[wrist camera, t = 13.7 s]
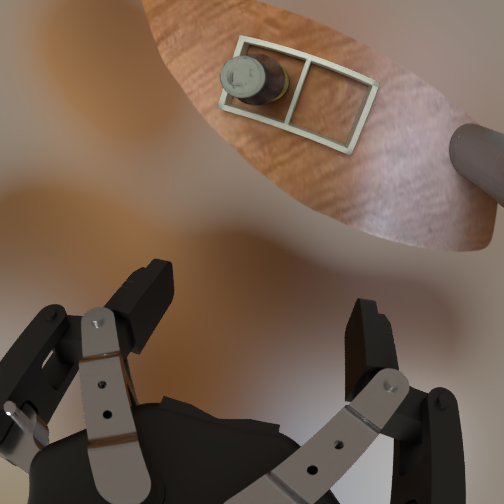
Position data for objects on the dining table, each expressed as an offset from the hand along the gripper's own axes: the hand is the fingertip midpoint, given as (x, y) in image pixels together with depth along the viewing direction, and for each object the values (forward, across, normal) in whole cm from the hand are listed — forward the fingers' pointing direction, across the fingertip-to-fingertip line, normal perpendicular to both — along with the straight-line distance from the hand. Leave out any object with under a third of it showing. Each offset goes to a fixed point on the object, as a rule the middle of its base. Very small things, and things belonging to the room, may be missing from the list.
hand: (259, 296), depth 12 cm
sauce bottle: (+36, +6, -9) cm, 38 cm away
